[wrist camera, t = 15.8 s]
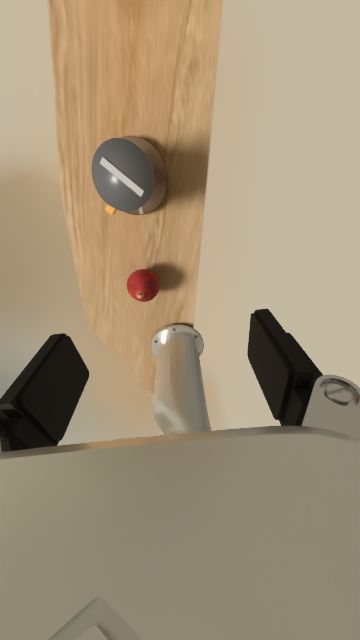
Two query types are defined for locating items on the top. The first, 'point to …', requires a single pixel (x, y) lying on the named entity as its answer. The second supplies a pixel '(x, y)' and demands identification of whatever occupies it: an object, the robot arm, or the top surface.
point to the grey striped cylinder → (123, 175)
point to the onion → (143, 285)
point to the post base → (159, 172)
